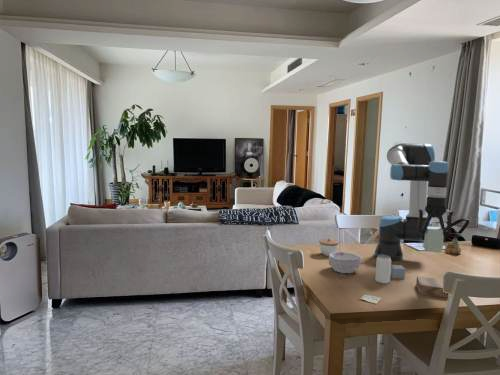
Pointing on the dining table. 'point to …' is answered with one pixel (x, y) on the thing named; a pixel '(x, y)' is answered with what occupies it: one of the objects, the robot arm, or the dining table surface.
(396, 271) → the slate block
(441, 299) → the dining table surface
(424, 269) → the dining table surface
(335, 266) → the paper bowls
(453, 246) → the ornament
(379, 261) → the can
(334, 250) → the lidded jar
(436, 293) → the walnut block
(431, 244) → the sage block
